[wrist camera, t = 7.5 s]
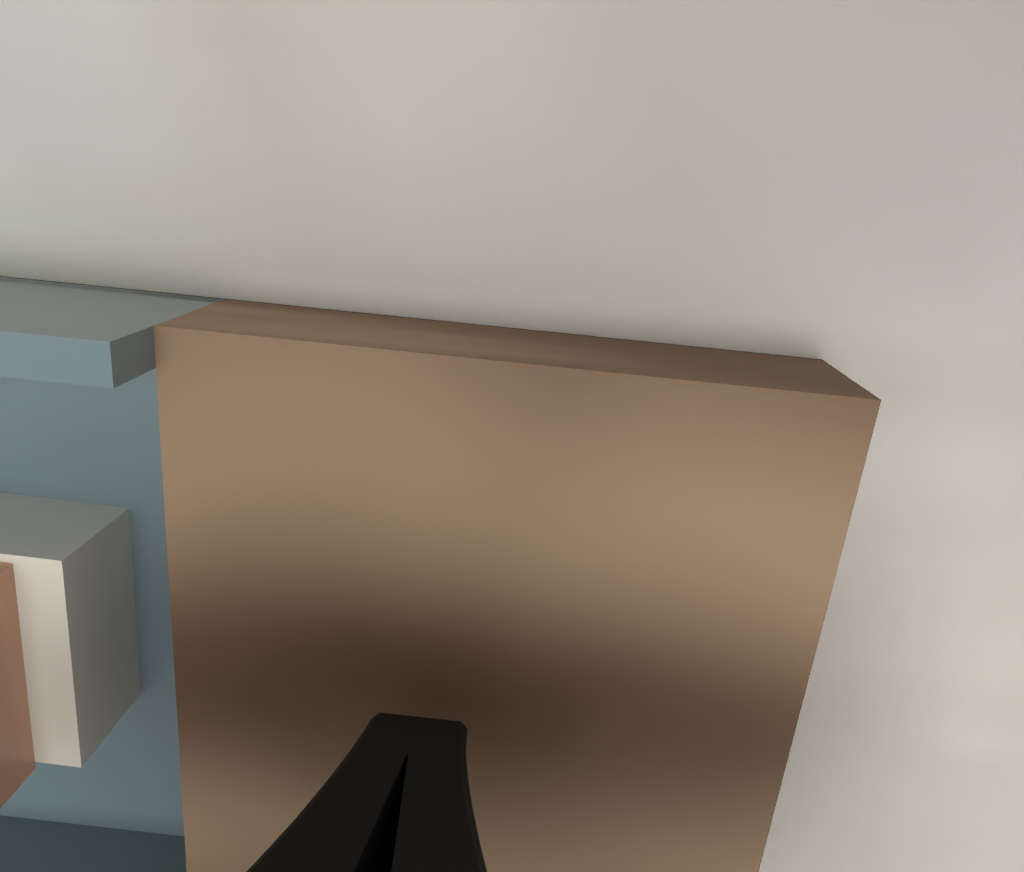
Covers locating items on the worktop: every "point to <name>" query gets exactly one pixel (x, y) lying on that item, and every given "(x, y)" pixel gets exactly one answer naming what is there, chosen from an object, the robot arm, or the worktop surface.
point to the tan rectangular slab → (498, 573)
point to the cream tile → (73, 619)
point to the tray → (138, 486)
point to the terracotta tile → (12, 694)
